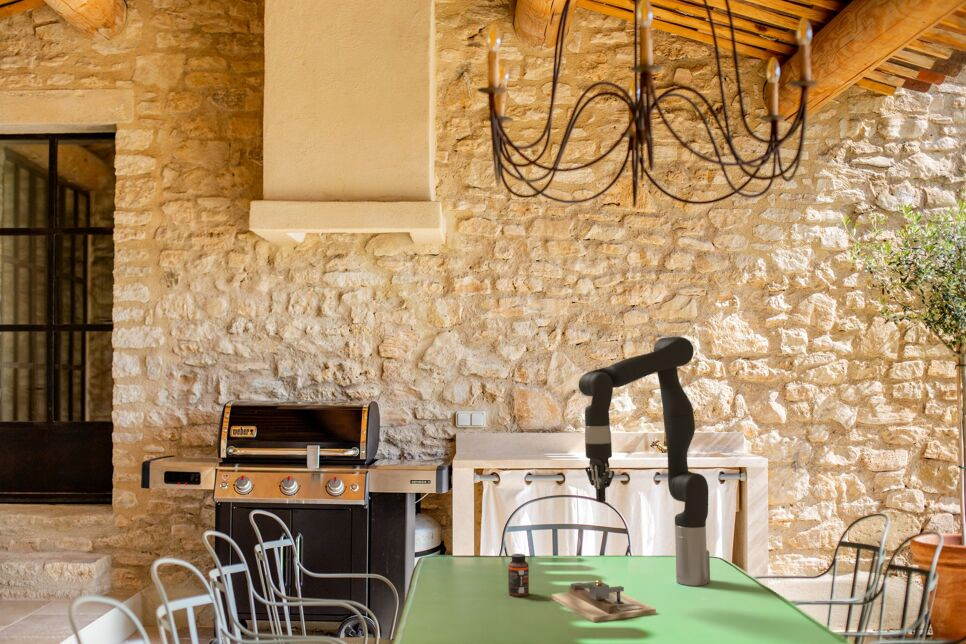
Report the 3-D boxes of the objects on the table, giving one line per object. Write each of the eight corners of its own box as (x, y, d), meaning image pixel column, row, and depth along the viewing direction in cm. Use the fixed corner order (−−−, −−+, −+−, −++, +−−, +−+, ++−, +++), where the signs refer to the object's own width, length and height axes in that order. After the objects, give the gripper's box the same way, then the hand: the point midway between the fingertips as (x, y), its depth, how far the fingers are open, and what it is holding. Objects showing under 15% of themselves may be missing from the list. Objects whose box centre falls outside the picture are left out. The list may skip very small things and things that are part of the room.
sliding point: (619, 599, 219) (618, 576, 219) (626, 602, 215) (625, 579, 216) (589, 603, 215) (589, 579, 216) (596, 606, 212) (595, 583, 212)
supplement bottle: (527, 597, 228) (526, 557, 229) (506, 596, 229) (506, 556, 230) (530, 592, 234) (529, 553, 235) (510, 591, 235) (509, 552, 236)
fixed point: (598, 590, 229) (598, 580, 229) (602, 592, 227) (602, 582, 227) (571, 593, 226) (570, 583, 226) (575, 595, 224) (574, 585, 224)
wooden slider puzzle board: (609, 591, 234) (608, 580, 234) (656, 613, 211) (655, 601, 212) (551, 598, 227) (551, 587, 227) (593, 622, 204) (593, 609, 205)
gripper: (621, 442, 226) (624, 503, 225) (597, 438, 238) (600, 497, 237) (598, 443, 223) (601, 506, 222) (575, 440, 235) (578, 499, 234)
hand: (601, 501), depth 230 cm, fingers closed
